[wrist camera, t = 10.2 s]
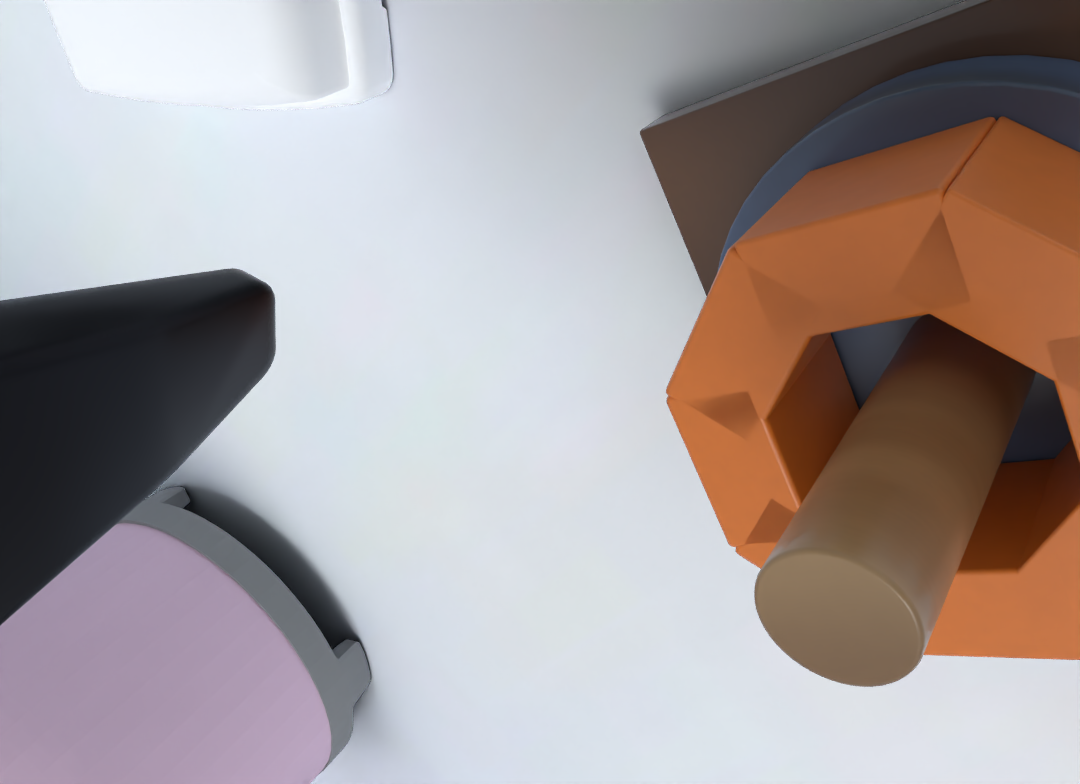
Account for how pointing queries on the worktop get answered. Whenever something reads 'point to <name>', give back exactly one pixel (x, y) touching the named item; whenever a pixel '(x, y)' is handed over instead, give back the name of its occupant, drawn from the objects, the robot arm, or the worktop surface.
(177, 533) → the blender
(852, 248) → the orange ring
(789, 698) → the worktop surface
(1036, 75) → the ring stand
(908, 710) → the worktop surface
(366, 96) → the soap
